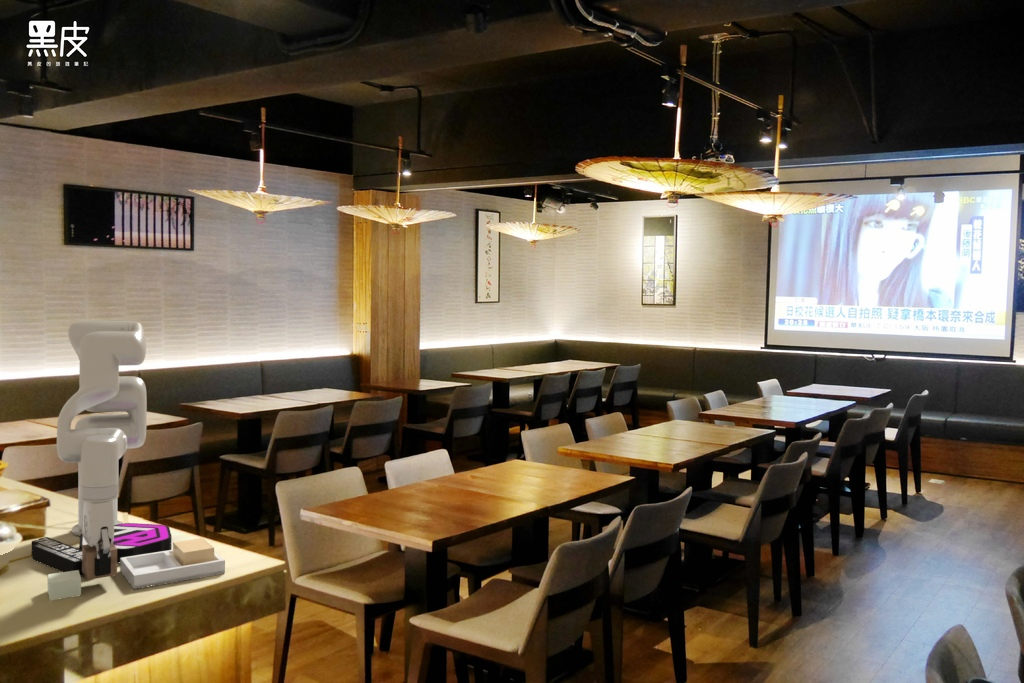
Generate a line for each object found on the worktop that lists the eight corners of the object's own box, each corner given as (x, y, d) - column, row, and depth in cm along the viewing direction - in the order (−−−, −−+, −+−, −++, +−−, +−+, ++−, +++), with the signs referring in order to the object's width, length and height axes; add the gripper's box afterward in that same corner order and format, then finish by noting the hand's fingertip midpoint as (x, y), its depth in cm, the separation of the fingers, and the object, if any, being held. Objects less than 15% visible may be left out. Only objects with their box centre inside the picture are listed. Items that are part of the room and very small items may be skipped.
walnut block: (82, 571, 186) (82, 545, 186) (111, 566, 190) (111, 540, 189) (87, 580, 182) (87, 553, 181) (117, 575, 185) (117, 549, 185)
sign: (83, 582, 189) (198, 550, 214) (83, 566, 188) (198, 535, 213) (23, 557, 204) (136, 530, 229) (23, 542, 203) (136, 516, 228)
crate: (120, 571, 195) (120, 547, 195) (206, 556, 207) (206, 534, 207) (134, 589, 184) (134, 564, 184) (224, 573, 196) (225, 549, 196)
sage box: (47, 592, 182) (47, 574, 181) (78, 587, 185) (78, 570, 185) (49, 601, 177) (49, 583, 176) (81, 596, 180) (81, 578, 180)
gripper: (73, 483, 188) (73, 560, 190) (88, 504, 175) (88, 586, 177) (109, 479, 193) (109, 554, 195) (126, 499, 179) (126, 579, 181)
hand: (99, 568), depth 186 cm, fingers closed on walnut block, 6 cm apart
